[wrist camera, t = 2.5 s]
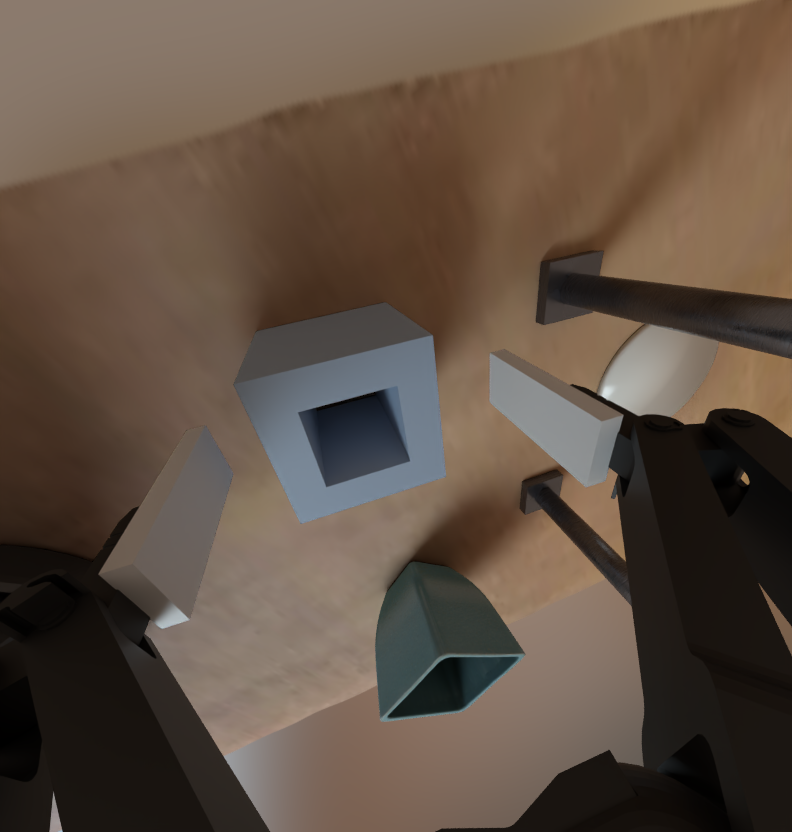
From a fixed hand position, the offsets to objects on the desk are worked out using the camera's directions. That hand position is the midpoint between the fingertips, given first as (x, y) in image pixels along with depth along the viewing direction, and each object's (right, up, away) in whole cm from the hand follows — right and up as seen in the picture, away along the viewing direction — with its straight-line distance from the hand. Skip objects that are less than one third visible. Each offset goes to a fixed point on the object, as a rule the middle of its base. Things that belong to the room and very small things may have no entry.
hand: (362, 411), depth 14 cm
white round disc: (+23, +3, +11) cm, 26 cm away
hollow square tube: (-2, +2, +4) cm, 5 cm away
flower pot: (+4, -16, +17) cm, 24 cm away
